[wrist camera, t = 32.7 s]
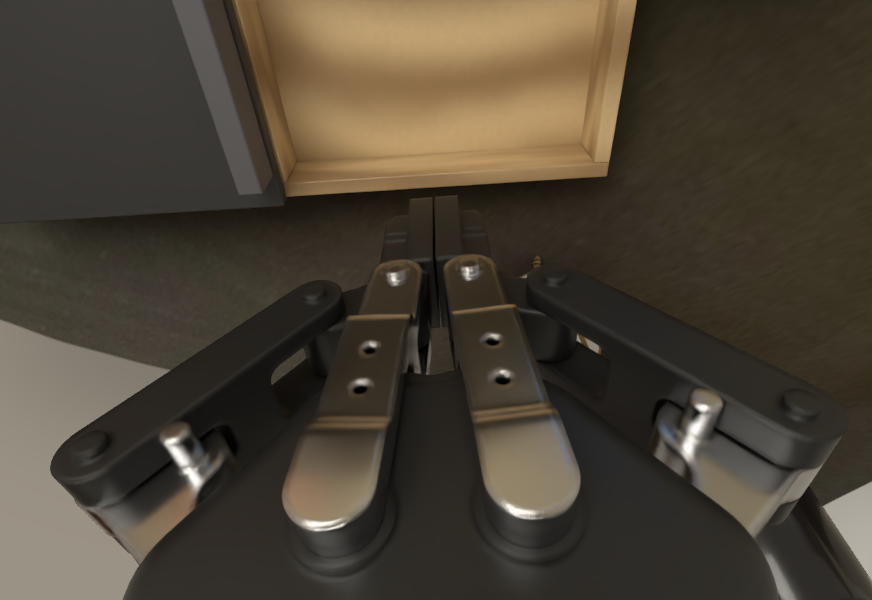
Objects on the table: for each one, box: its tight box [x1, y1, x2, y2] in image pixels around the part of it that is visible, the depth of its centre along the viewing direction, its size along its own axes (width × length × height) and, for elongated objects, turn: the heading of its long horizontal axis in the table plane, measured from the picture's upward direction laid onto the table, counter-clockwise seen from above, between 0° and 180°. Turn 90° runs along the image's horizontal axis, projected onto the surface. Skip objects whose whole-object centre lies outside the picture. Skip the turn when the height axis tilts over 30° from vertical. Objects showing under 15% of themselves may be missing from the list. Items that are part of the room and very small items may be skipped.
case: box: [232, 0, 637, 197], centre depth 21 cm, size 10×29×3 cm, turn 93°
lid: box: [0, 0, 287, 224], centre depth 18 cm, size 10×14×2 cm
